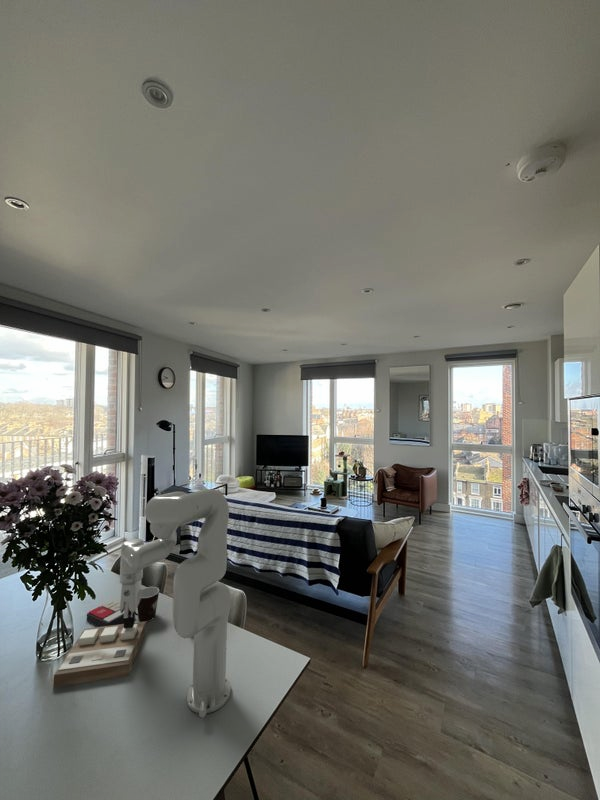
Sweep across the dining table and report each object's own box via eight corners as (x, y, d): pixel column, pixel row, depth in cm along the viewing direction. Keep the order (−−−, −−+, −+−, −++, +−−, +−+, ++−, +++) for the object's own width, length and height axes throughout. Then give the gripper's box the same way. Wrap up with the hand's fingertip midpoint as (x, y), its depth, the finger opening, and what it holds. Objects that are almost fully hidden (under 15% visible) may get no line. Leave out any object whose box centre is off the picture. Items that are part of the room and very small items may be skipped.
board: (128, 675, 102) (128, 662, 103) (53, 686, 98) (54, 673, 98) (145, 630, 124) (145, 620, 124) (84, 638, 119) (84, 627, 119)
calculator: (113, 598, 140) (134, 606, 133) (112, 608, 139) (134, 617, 132) (86, 611, 130) (108, 621, 123) (86, 622, 130) (108, 633, 123)
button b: (113, 644, 113) (114, 634, 113) (99, 646, 112) (100, 635, 112) (117, 636, 117) (118, 626, 118) (104, 637, 116) (104, 627, 117)
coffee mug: (151, 608, 138) (152, 584, 139) (162, 615, 133) (163, 591, 134) (123, 622, 129) (124, 596, 129) (134, 630, 124) (135, 604, 124)
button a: (133, 641, 115) (134, 631, 115) (120, 643, 114) (120, 633, 114) (137, 633, 119) (137, 623, 119) (124, 635, 118) (124, 625, 118)
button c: (93, 647, 112) (93, 636, 112) (78, 649, 111) (79, 638, 111) (98, 638, 116) (98, 628, 116) (84, 640, 115) (84, 630, 115)
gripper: (137, 584, 111) (134, 639, 110) (147, 564, 126) (145, 613, 125) (113, 586, 109) (110, 642, 109) (126, 566, 124) (124, 615, 123)
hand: (129, 626), depth 117 cm, fingers closed
